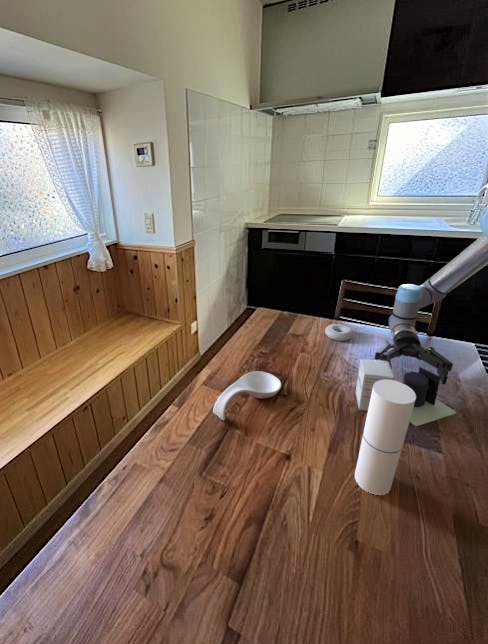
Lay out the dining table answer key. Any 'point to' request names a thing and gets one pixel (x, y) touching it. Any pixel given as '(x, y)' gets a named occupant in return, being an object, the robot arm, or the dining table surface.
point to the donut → (338, 332)
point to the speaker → (423, 386)
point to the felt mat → (430, 413)
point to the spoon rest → (248, 389)
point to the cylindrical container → (384, 435)
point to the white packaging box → (370, 379)
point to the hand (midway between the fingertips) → (416, 375)
